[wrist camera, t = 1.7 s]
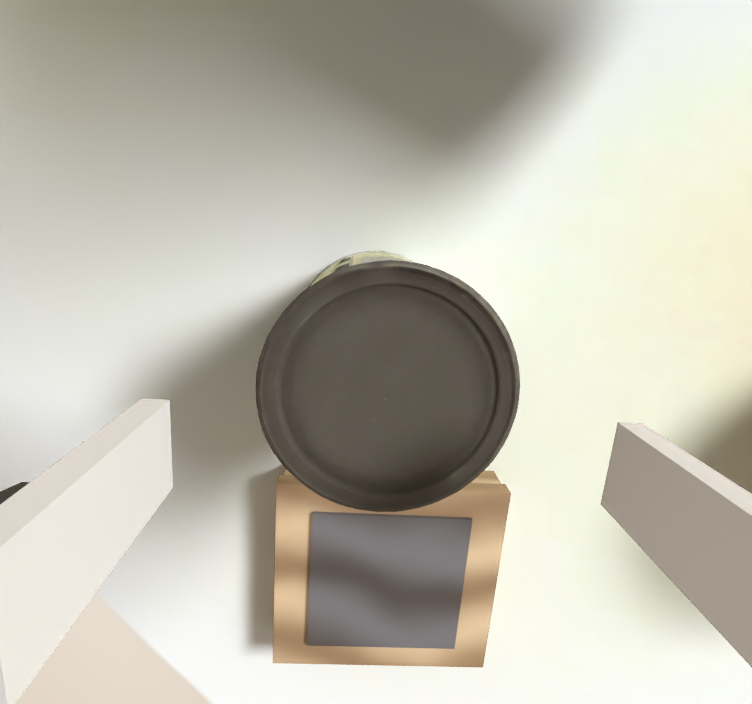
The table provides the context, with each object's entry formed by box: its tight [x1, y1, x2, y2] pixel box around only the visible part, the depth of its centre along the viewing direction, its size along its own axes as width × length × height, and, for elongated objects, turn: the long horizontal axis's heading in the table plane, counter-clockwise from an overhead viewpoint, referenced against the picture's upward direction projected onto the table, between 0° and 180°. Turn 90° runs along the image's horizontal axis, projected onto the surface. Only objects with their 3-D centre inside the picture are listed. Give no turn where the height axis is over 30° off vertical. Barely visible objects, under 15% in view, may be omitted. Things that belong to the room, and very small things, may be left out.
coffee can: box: [256, 251, 520, 512], centre depth 24 cm, size 10×10×14 cm
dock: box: [273, 469, 511, 667], centre depth 34 cm, size 15×16×3 cm
